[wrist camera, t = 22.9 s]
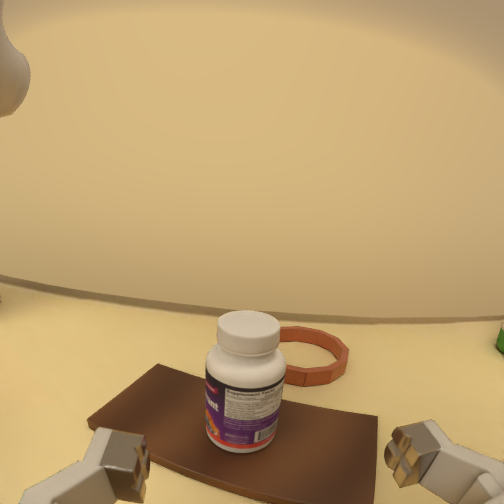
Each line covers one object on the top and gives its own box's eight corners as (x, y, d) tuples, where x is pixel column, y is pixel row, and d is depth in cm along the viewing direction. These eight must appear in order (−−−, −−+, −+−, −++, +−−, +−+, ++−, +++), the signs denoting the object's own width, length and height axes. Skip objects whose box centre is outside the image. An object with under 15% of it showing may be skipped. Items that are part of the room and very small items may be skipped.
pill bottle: (206, 409, 24) (208, 304, 22) (270, 410, 25) (283, 307, 23) (204, 454, 19) (204, 340, 17) (279, 454, 20) (300, 342, 18)
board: (88, 427, 20) (86, 419, 20) (158, 370, 31) (157, 363, 31) (367, 519, 14) (372, 512, 14) (374, 423, 24) (378, 415, 24)
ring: (240, 372, 32) (241, 358, 32) (268, 332, 42) (269, 320, 42) (341, 393, 29) (345, 379, 29) (347, 346, 39) (350, 334, 39)
